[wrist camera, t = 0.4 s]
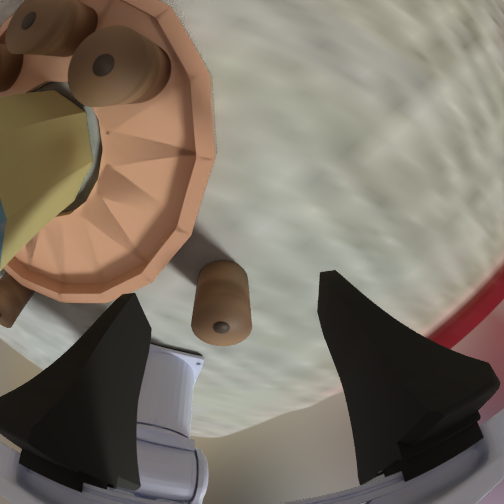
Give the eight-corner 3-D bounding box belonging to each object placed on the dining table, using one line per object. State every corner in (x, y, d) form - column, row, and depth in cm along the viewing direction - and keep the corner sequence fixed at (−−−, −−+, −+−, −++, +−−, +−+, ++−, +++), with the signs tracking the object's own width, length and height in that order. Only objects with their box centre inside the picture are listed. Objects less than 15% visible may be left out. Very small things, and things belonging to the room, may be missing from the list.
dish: (170, 317, 23) (166, 335, 22) (-24, 245, 18) (-34, 256, 16) (273, 14, 11) (278, 3, 10) (-3, 11, 6) (-17, 10, 4)
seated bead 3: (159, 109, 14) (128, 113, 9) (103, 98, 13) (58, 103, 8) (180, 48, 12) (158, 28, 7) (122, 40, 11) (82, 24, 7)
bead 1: (36, 301, 22) (16, 333, 18) (12, 289, 21) (-9, 319, 17) (30, 273, 20) (5, 306, 16) (5, 262, 19) (-20, 291, 15)
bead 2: (238, 304, 23) (240, 350, 19) (193, 293, 22) (186, 339, 18) (255, 268, 21) (261, 314, 17) (205, 254, 20) (198, 299, 16)
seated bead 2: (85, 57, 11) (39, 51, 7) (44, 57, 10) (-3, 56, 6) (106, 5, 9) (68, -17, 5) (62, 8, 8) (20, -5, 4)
